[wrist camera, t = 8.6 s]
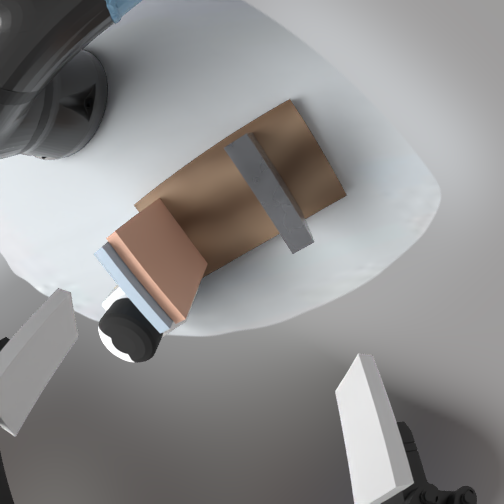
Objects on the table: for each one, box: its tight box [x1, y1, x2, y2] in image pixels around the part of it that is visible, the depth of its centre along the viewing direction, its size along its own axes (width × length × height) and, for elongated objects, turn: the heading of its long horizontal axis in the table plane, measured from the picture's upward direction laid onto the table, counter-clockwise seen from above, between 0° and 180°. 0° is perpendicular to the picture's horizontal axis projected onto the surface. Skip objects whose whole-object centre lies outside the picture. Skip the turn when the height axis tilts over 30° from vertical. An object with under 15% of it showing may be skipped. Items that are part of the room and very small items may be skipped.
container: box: [99, 284, 199, 362], centre depth 32 cm, size 8×8×13 cm
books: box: [94, 198, 208, 334], centre depth 28 cm, size 10×2×12 cm, turn 33°
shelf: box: [134, 99, 346, 278], centre depth 32 cm, size 12×21×2 cm, turn 123°
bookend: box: [224, 132, 314, 254], centre depth 26 cm, size 10×2×9 cm, turn 33°
